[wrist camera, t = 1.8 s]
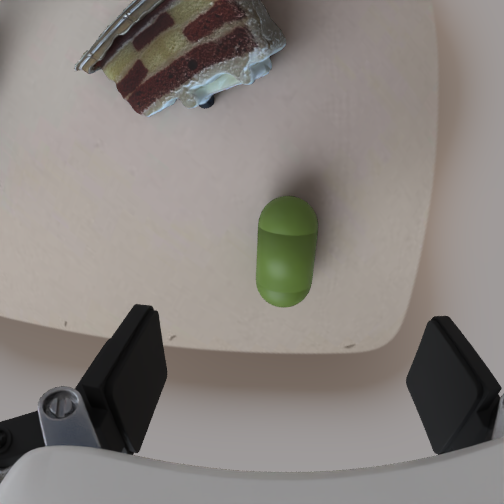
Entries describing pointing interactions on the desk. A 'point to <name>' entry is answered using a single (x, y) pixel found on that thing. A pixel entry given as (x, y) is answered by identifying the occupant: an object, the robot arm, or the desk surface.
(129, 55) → the layered cake slice
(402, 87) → the desk surface
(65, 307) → the desk surface
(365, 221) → the desk surface
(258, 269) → the pickle
